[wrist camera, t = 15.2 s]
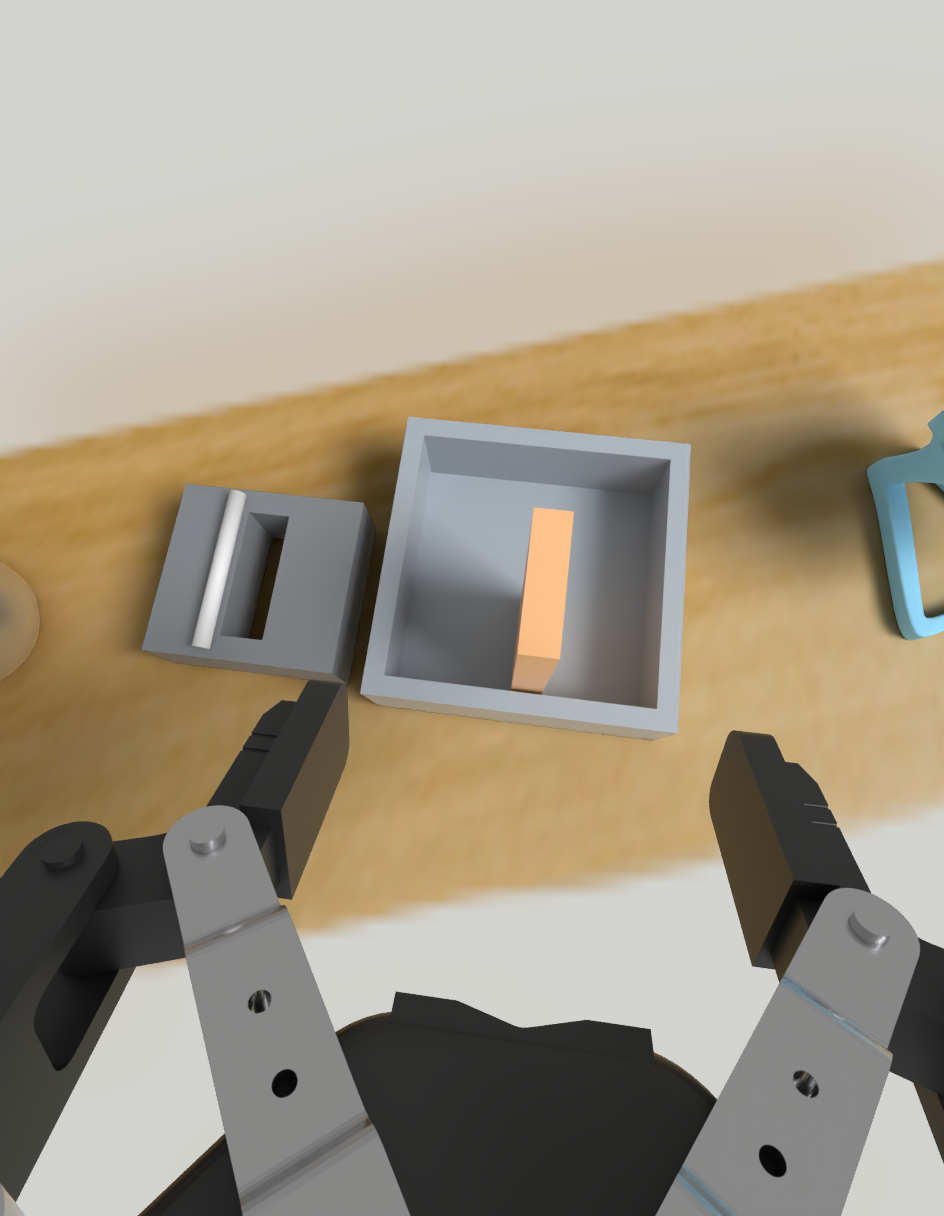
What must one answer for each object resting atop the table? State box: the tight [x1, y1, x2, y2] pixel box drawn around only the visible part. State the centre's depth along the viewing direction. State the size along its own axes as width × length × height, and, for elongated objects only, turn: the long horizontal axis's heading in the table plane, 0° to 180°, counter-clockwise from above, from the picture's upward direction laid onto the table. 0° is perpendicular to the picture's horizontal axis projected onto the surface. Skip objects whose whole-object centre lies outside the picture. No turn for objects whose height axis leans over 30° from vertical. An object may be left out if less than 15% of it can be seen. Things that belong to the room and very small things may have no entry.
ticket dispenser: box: [141, 484, 376, 684], centre depth 28 cm, size 8×8×4 cm
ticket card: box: [510, 507, 574, 695], centre depth 23 cm, size 1×4×10 cm, turn 173°
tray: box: [360, 417, 691, 740], centre depth 28 cm, size 12×12×4 cm
